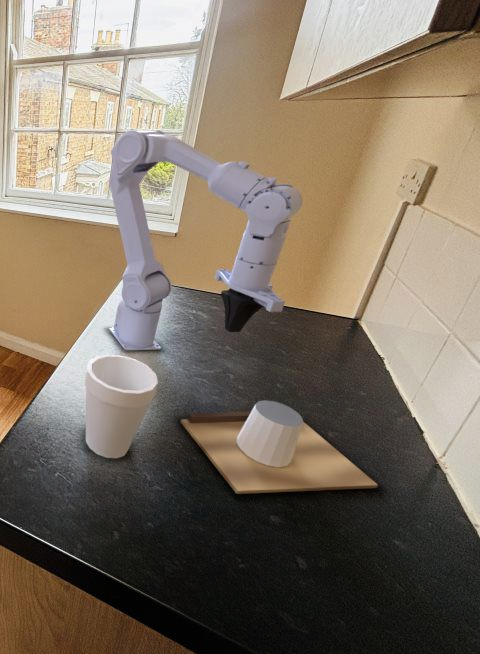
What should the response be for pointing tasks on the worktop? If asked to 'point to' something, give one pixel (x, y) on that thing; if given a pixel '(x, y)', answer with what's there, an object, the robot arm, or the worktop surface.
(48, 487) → the worktop surface
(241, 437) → the white faceted cup
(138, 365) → the foam cup
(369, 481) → the board
